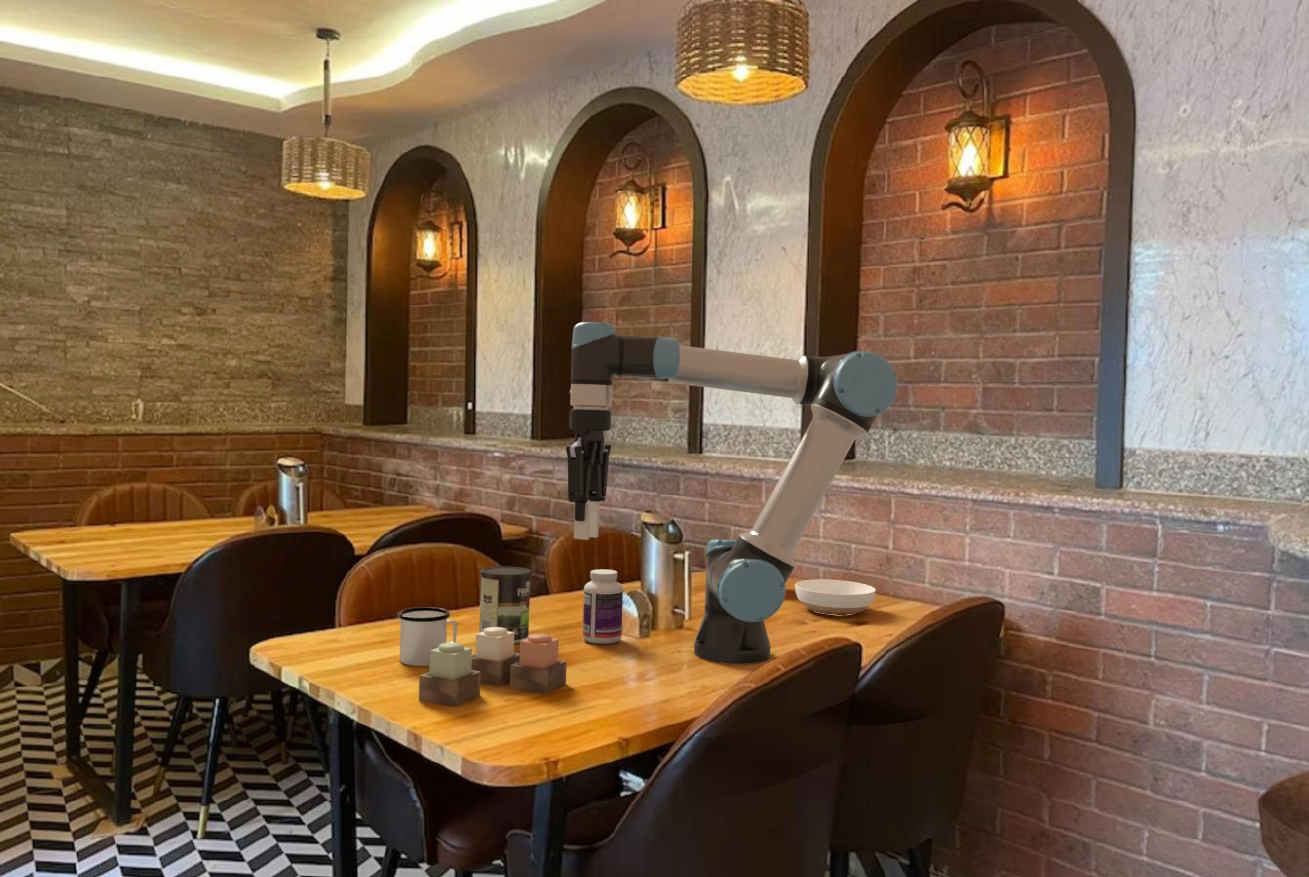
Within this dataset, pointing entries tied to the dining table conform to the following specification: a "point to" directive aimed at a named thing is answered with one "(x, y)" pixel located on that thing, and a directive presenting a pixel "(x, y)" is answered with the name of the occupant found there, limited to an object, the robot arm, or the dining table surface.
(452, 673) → the cap sage
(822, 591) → the bowl
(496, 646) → the cap cream
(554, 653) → the cap terracotta
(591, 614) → the pill bottle
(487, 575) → the coffee can
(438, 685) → the brown square tray
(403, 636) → the mug
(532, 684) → the collar brown
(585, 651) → the dining table surface
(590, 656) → the dining table surface
